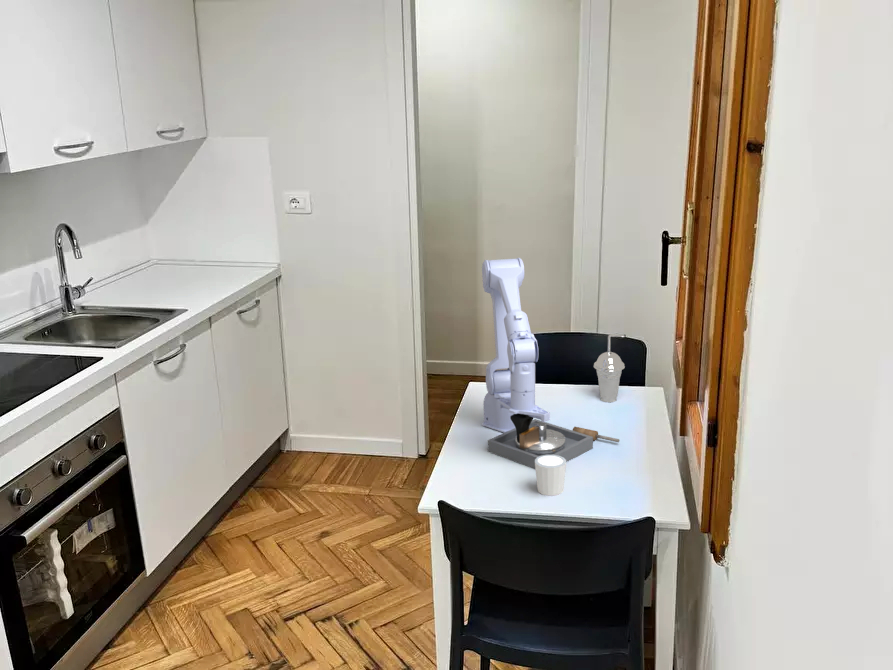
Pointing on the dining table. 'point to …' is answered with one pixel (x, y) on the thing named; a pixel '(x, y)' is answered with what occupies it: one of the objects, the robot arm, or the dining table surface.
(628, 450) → the dining table surface
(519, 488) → the dining table surface
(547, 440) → the dial
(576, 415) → the dining table surface
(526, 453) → the tray
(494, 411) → the robot arm
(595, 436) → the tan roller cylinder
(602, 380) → the cup with straw
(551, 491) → the white fluted cup
